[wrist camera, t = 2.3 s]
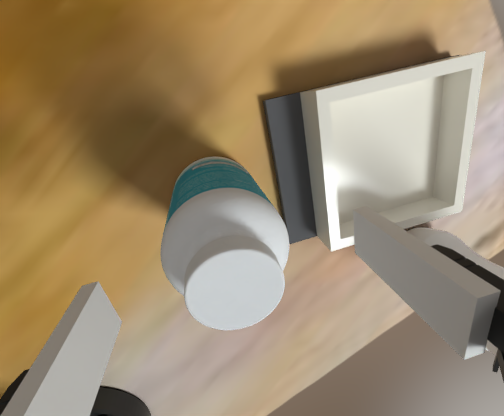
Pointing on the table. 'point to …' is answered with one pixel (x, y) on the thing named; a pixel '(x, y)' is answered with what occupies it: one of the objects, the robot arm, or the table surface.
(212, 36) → the table surface
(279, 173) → the mat
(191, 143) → the table surface
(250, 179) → the pill bottle
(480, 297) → the robot arm
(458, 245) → the water bottle
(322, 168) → the tray
